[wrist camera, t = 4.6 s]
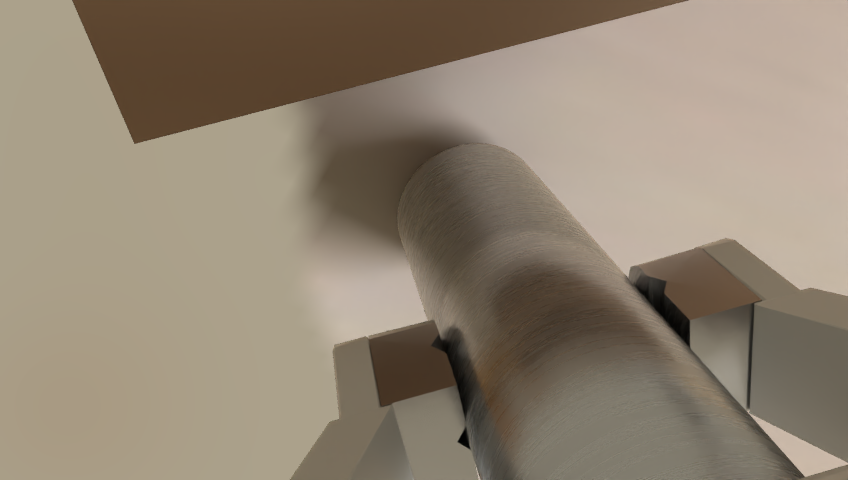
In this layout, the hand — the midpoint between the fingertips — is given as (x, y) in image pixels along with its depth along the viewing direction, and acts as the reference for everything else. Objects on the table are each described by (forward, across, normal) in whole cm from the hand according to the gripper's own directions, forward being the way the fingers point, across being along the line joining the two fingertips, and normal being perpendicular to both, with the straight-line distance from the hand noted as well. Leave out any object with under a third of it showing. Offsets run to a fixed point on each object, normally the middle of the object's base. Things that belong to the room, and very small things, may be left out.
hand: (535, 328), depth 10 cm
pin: (+4, 0, 0) cm, 4 cm away
